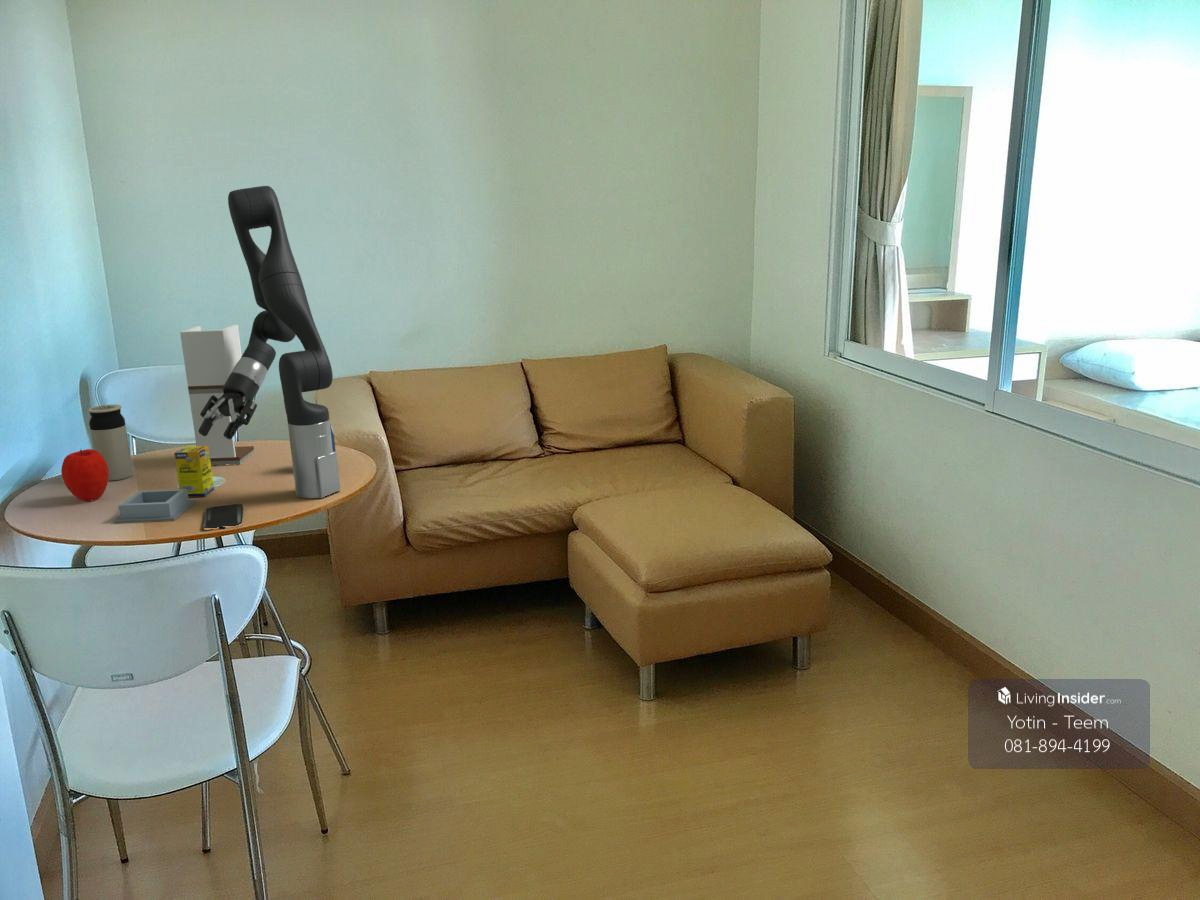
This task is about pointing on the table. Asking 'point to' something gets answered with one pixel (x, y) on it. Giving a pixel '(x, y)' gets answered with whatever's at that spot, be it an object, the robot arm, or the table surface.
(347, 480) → the table surface
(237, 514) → the phone
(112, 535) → the table surface
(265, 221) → the robot arm
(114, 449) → the travel mug
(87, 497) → the apple
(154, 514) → the holder
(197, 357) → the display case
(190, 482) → the supplement box
